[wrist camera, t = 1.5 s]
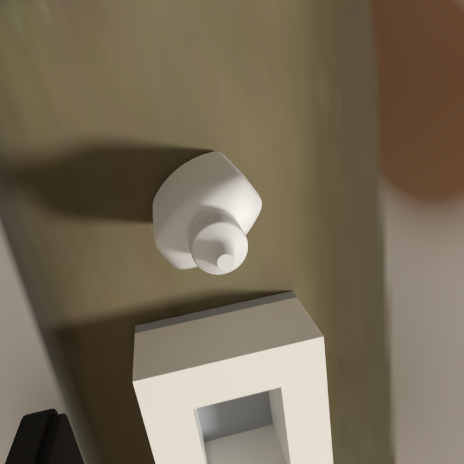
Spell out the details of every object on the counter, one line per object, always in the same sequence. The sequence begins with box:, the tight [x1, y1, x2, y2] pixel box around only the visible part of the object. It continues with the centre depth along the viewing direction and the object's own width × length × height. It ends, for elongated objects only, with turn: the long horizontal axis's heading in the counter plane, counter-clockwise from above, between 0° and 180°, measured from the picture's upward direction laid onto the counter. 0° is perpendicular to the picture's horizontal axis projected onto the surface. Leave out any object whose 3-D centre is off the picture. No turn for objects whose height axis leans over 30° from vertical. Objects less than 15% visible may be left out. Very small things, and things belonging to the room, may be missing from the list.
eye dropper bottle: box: [153, 152, 262, 275], centre depth 22 cm, size 4×6×12 cm
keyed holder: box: [132, 291, 333, 464], centre depth 31 cm, size 14×12×6 cm
